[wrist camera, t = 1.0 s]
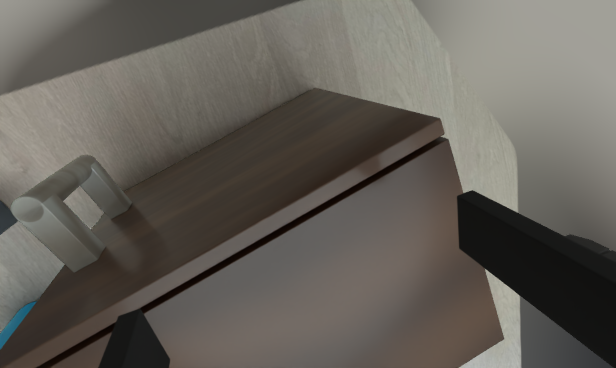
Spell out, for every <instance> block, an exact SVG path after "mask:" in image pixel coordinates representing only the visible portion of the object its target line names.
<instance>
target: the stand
mask: <svg viewBox="0 0 616 368" xmlns="http://www.w3.org/2000/svg"><path fill="white" fill-rule="evenodd" d="M17 221H18V220H17V219H16V218H15V217H14V215H13V214H12V212H11V210H10V209H9V208H8V207H7V206H6V205H5V204H4V203H2V202H1V201H0V235H1V234H2V233H3V232H5V231H6V230H7V229H8V228H10V227H11V226H12V225H14V224H15V223H16V222H17Z"/></svg>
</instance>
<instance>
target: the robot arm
mask: <svg viewBox="0 0 616 368" xmlns="http://www.w3.org/2000/svg"><path fill="white" fill-rule="evenodd" d="M457 211H458V235H459V249H460V250H462V251H463V252H464V253H466V254H467V255H468V256H469V257H471V258H472V259H473V260H475V261H476V262H477V263H478V264H480V265H481V266H482V267H484V268H485V269H486V270H488V271H489V272H490V273H491V274H493V275H494V276H495V277H497V278H498V279H499V280H501V281H502V282H503V283H504V284H506V285H507V286H508V287H510V288H511V289H512V290H514V291H515V292H516V293H517V294H519V295H520V296H521V297H523V298H524V299H525V300H527V301H528V302H529V303H530V304H532V305H533V306H534V307H536V308H537V309H538V310H540V311H541V312H542V313H544V314H545V315H546V316H547V317H549V318H550V319H551V320H553V321H554V322H555V323H556V324H558V325H559V326H560V327H562V328H563V329H564V330H566V331H567V332H568V333H570V334H571V335H572V336H573V337H575V338H576V339H577V340H578V341H580V342H581V343H582V344H584V345H585V346H586V347H588V348H589V349H590V350H591V351H593V352H594V353H595V354H597V355H598V356H599V357H601V358H602V359H603V360H604V361H606V362H607V363H609V364H610V365H611V366H612V367H614V368H616V252H615V251H610V250H609V248H606V247H604V246H602V245H600V244H598V243H596V242H594V241H592V240H589V239H585V238H582V237H578V236H574V235H567V236H563V235H561V234H559V233H557V232H554V231H553V230H551V229H549V228H547V227H545V226H543V225H541V224H539V223H537V222H535V221H533V220H531V219H529V218H527V217H525V216H523V215H521V214H519V213H517V212H515V211H513V210H511V209H509V208H507V207H505V206H503V205H501V204H499V203H497V202H495V201H493V200H491V199H489V198H487V197H485V196H483V195H481V194H479V193H477V192H475V191H473V190H472V191H469V192H466V193H463V194H461V195H458V196H457ZM169 365H170V358H169V356H168V355H167V353H166V351H165V350H164V348H163V346H162V345H161V343H160V341H159V339H158V338H157V336H156V334H155V333H154V331H153V329H152V328H151V326H150V324H149V322H148V321H147V319H146V317H145V316H144V314H143V312H142V311H141V309H137V310H134V311H131V312H128V313H126V314H123V315H120V316H118V318H117V321H116V323H115V326H114V328H113V331H112V334H111V336H110V339H109V341H108V344H107V346H106V349H105V351H104V354H103V357H102V359H101V362H100V364H99V367H98V368H169Z"/></svg>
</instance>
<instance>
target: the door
mask: <svg viewBox="0 0 616 368" xmlns="http://www.w3.org/2000/svg"><path fill="white" fill-rule="evenodd" d="M442 135H444V129H443V126H442V122H441V119H440V118H437V117H433V116H428V115H424V114H420V113H416V112H412V111H408V110H404V109H400V108H396V107H392V106H388V105H383V104H379V103H375V102H371V101H367V100H363V99H359V98H355V97H351V96H347V95H342V94H338V93H334V92H330V91H326V90H322V89H318V88H313V89H312V90H310V91H308V92H306V93H304V94H302V95H301V96H299V97H297V98H295V99H293V100H291V101H290V102H288V103H286V104H284V105H282V106H280V107H279V108H277V109H275V110H273V111H271V112H270V113H268V114H266V115H264V116H262V117H260V118H259V119H257V120H255V121H253V122H251V123H249V124H248V125H246V126H244V127H242V128H240V129H238V130H237V131H235V132H233V133H231V134H229V135H227V136H226V137H224V138H222V139H220V140H218V141H216V142H215V143H213V144H211V145H209V146H207V147H205V148H204V149H202V150H200V151H198V152H196V153H194V154H193V155H191V156H189V157H187V158H185V159H183V160H182V161H180V162H178V163H176V164H174V165H172V166H171V167H169V168H167V169H165V170H163V171H161V172H160V173H158V174H156V175H154V176H152V177H150V178H149V179H147V180H145V181H143V182H141V183H139V184H138V185H136V186H134V187H132V188H130V189H128V190H127V191H125V192H123V191H122V190H121V188H120V187H119V186H118V185H117V184H116V182H115V181H114V180H113V179H112V178H111V176H110V175H109V174H108V173H107V172H106V171H105V169H104V168H103V167H102V166H101V165H100V163H99V162H98V161H97V160H96V159H95V158H94V157H92V156H90V155H81V156H79V157H78V158H76V159H75V160H73V161H72V162H70V163H69V164H67V165H66V166H64V167H63V168H61V169H60V170H58V171H57V172H55V173H54V174H52V175H51V176H49V177H48V178H46V179H45V180H43V181H42V182H40V183H39V184H37V185H36V186H34V187H33V188H31V189H30V190H28V191H27V192H25V193H24V194H22V195H21V196H19V197H18V198H16V199H15V200H14V201H13V202H12V204H11V212H12V214H13V215H14V217H15V218H16V219H17V220H18V221H19V222H20V223H22V224H23V225H24V226H25V227H26V228H27V229H28V230H29V231H30V232H31V233H32V234H33V235H34V236H35V237H36V238H38V239H39V240H40V241H41V242H42V243H43V244H44V245H45V246H46V247H47V248H48V249H49V250H50V251H51V252H52V253H53V254H55V255H56V256H57V257H58V258H59V259H60V260H61V261H62V262H63V263H64V264H65V265H64V267H63V268H62V269H61V270H60V272H59V273H58V274H57V276H56V277H55V278H54V280H53V281H52V282H51V284H50V285H49V286H48V288H47V289H46V290H45V292H44V293H43V294H42V295H41V297H40V298H39V299H38V301H37V302H36V303H35V305H34V306H33V307H32V309H31V310H30V311H29V313H28V314H27V315H26V316H25V318H24V319H23V320H22V322H21V323H20V324H19V326H18V327H17V328H16V330H15V331H14V332H13V334H12V335H11V336H10V337H9V339H8V340H7V341H6V343H5V344H4V345H3V347H2V348H1V349H0V368H36V367H38V366H40V365H42V364H43V363H45V362H47V361H49V360H50V359H52V358H54V357H56V356H57V355H59V354H61V353H63V352H64V351H66V350H68V349H70V348H71V347H73V346H75V345H77V344H78V343H80V342H82V341H84V340H85V339H87V338H89V337H91V336H92V335H94V334H96V333H98V332H99V331H101V330H103V329H105V328H106V327H108V326H110V325H112V324H113V323H115V322H116V321H117V318H118V316H120V315H123V314H126V313H128V312H131V311H134V310H137V309H139V308H141V307H143V306H145V305H146V304H148V303H150V302H152V301H153V300H155V299H157V298H159V297H160V296H162V295H164V294H166V293H167V292H169V291H171V290H173V289H174V288H176V287H178V286H180V285H181V284H183V283H185V282H187V281H188V280H190V279H192V278H194V277H195V276H197V275H199V274H201V273H202V272H204V271H206V270H208V269H209V268H211V267H213V266H215V265H216V264H218V263H220V262H222V261H223V260H225V259H227V258H229V257H230V256H232V255H234V254H236V253H237V252H239V251H241V250H243V249H244V248H246V247H248V246H250V245H251V244H253V243H255V242H257V241H258V240H260V239H262V238H264V237H265V236H267V235H269V234H271V233H272V232H274V231H276V230H278V229H279V228H281V227H283V226H285V225H286V224H288V223H290V222H292V221H293V220H295V219H297V218H299V217H300V216H302V215H304V214H306V213H307V212H309V211H311V210H313V209H314V208H316V207H318V206H320V205H321V204H323V203H325V202H327V201H328V200H330V199H332V198H334V197H335V196H337V195H339V194H341V193H342V192H344V191H346V190H348V189H349V188H351V187H353V186H355V185H356V184H358V183H360V182H362V181H363V180H365V179H367V178H369V177H370V176H372V175H374V174H376V173H377V172H379V171H381V170H383V169H384V168H386V167H388V166H390V165H391V164H393V163H395V162H397V161H398V160H400V159H402V158H404V157H405V156H407V155H409V154H411V153H412V152H414V151H416V150H418V149H419V148H421V147H423V146H424V145H426V144H428V143H430V142H431V141H433V140H435V139H437V138H438V137H440V136H442ZM79 186H81V187H82V188H83V190H84V191H85V192H86V193H87V194H88V195H89V196H90V197H91V198H92V199H93V201H94V202H95V203H96V204H97V205H98V206H99V207H100V208H101V209H102V211H103V212H104V214H103V215H102V217H101V218H100V219H99V221H98V222H97V223H96V224H95V226H94V227H93V228H92V230H90V229H89V228H88V227H87V226H86V225H85V224H84V223H83V222H82V221H81V220H80V219H79V218H78V217H77V216H76V215H75V214H74V213H73V212H72V210H71V209H70V208H69V207H68V206H67V205H66V204H65V203H64V202H63V200H64V199H66V198H67V197H68V196H69V195H70V194H71V193H72V192H73V191H75V190H76V189H77V188H78V187H79Z"/></svg>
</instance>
